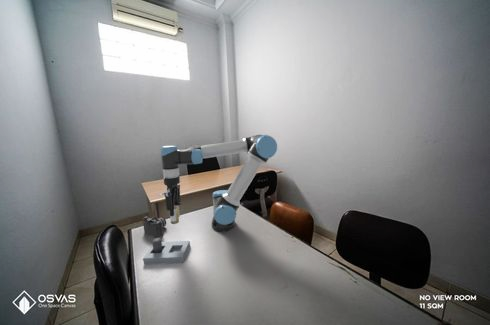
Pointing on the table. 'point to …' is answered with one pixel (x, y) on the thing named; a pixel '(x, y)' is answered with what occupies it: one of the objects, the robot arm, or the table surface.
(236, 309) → the table surface
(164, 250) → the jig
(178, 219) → the brass cylinder
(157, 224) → the camera
